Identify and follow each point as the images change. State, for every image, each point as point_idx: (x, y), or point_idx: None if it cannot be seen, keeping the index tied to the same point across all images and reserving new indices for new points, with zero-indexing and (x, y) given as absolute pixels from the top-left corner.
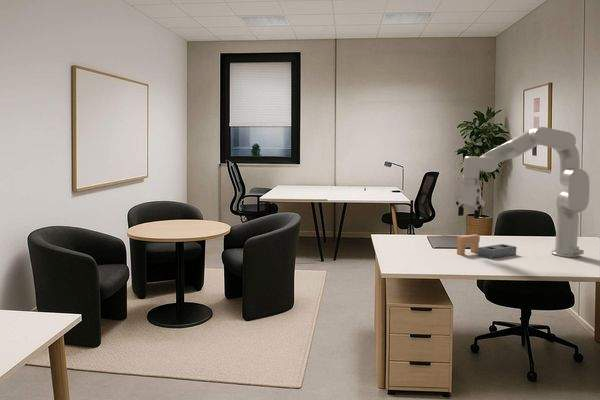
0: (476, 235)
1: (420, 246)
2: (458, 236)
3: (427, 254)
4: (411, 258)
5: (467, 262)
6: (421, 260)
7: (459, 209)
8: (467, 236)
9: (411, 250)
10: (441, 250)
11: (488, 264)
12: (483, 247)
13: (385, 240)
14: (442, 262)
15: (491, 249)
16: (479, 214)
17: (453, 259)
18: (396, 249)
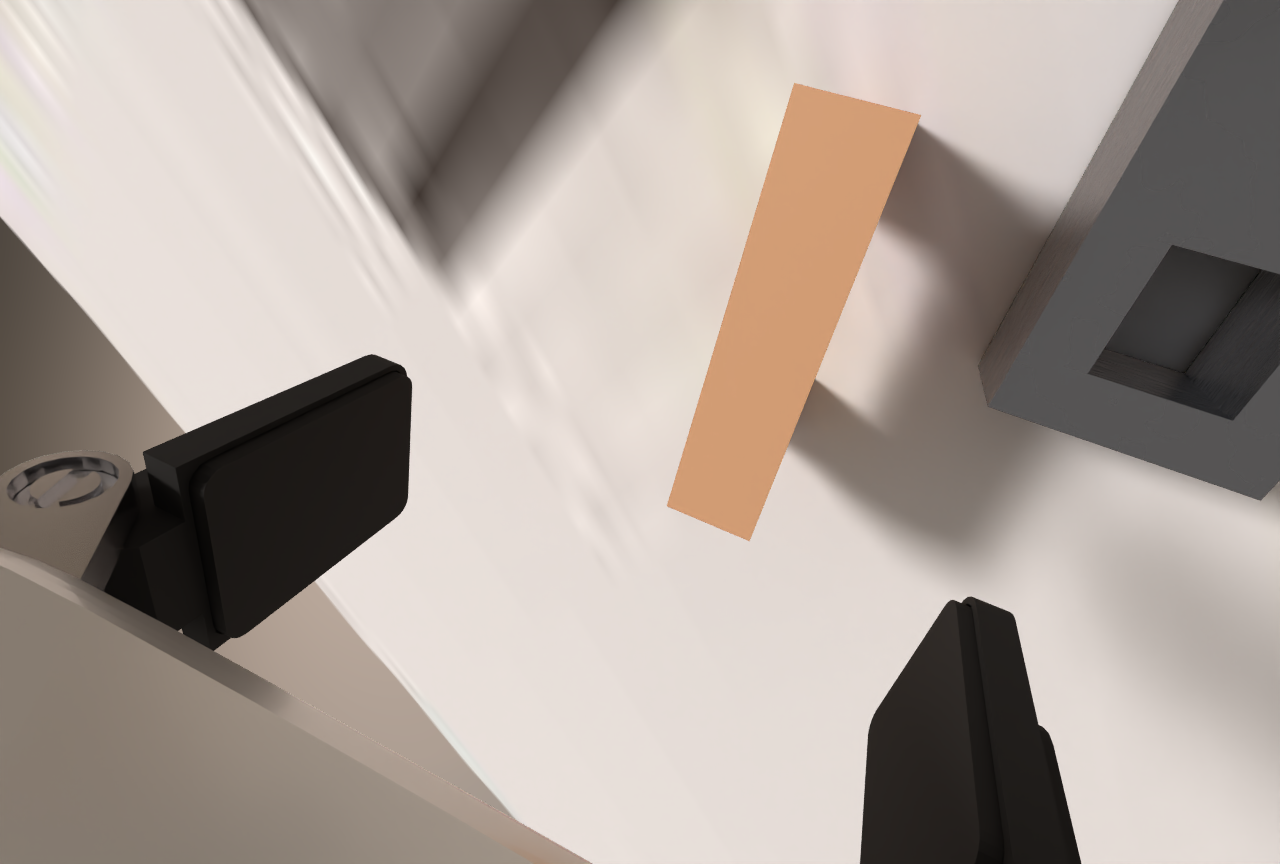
0: (873, 208)
1: (326, 266)
2: (678, 489)
3: (558, 547)
4: (564, 706)
5: None
6: (640, 736)
7: (263, 607)
8: (778, 415)
9: None
10: (537, 316)
11: (1202, 695)
12: (1063, 356)
13: (58, 225)
14: (781, 747)
15: (1234, 438)
16: (1055, 793)
17: (806, 627)
18: None
